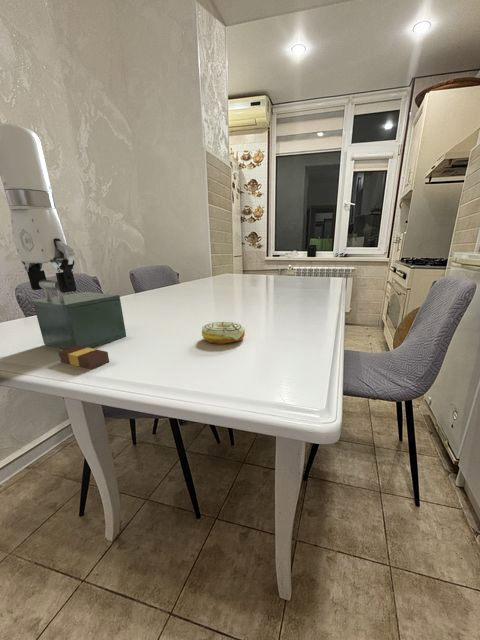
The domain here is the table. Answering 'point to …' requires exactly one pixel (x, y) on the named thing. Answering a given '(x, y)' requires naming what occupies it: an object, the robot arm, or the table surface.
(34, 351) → the table surface
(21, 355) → the table surface
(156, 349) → the table surface
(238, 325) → the decorated donut
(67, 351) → the chocolate
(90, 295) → the bin lid
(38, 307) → the bin
